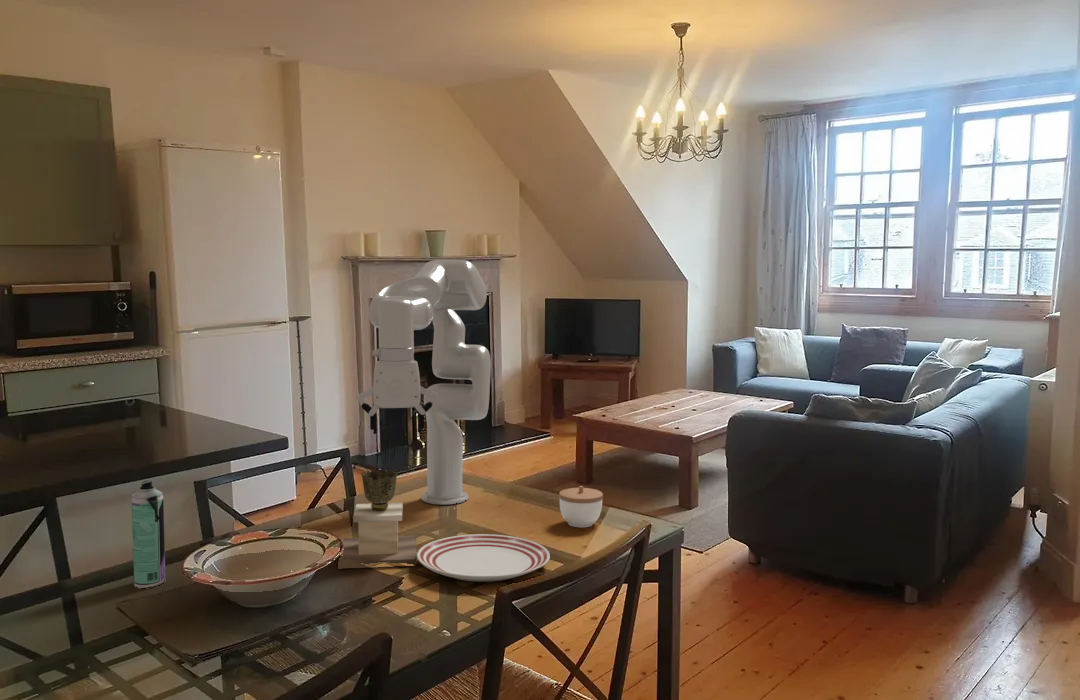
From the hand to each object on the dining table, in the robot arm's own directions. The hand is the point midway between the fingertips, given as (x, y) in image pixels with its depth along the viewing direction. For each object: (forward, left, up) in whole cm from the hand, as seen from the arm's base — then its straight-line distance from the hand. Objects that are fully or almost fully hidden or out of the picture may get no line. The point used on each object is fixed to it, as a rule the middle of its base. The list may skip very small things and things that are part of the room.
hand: (397, 432), depth 177 cm
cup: (+6, -4, -16) cm, 17 cm away
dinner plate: (+16, +18, -26) cm, 35 cm away
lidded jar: (-11, +44, -26) cm, 52 cm away
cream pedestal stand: (+6, -4, -26) cm, 27 cm away
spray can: (+17, -47, -26) cm, 56 cm away
